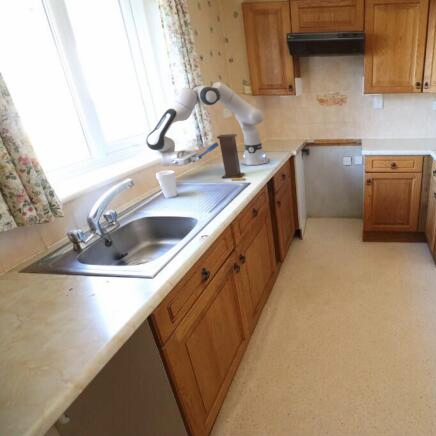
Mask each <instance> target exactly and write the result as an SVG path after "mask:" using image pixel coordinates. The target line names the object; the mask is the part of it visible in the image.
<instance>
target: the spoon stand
mask: <svg viewBox="0 0 436 436" xmlns="http://www.w3.org/2000/svg"><path fill="white" fill-rule="evenodd" d="M237 136H238V135H237V133H229V134H228V133H227V134H219V135H217V136H216V140H217V139H219V146H220V152H221V157H222V163H223V168H224V174H223V175H222V176H221V177H222V179H232V178H243V176H244V175H245V172H241V166H240V159H239V153H238V146H237V140H236V137H237Z"/></svg>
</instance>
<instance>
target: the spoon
mask: <svg viewBox="0 0 436 436" xmlns="http://www.w3.org/2000/svg"><path fill="white" fill-rule="evenodd" d="M219 146H220V144H219V143H218V142H217V141H216V142H215V143H213V144H212V145H209V147H207V148H206V150H205V151H204V152H202V153H201V154H199V156H198V157H200V158H201V157H202V158H203V157H204V156H205V155H207V154H208V153H210V152H212V151H213V150H214V149H216V148H218V147H219ZM195 162H196V161H192V163H195Z"/></svg>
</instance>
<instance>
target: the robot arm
mask: <svg viewBox="0 0 436 436" xmlns="http://www.w3.org/2000/svg"><path fill="white" fill-rule="evenodd" d="M217 102H219V103H221V105H222V106H224V107H225V108H226V109H228V110H229V111H230V112H231V113H234V117H235V119H236V121H237V122H238V124H239V126H240V129H241V131H242V135H243V140H244V152H243V161H242V165H246V166H260V165H264V164H269V156H266V152H265V150H264V149H263V145H262V144H263V143H262V142H261V136H260V132H259V130H258V129H257V127H256V125H259V124H261V123H263V121H264V113H263V111H262V110H261V109H258V108H257V107H255V106H254V105H252V104H250V103H249V102H247V101H246V100H244V99H243V98H242V97H241V96H240V95H238V94H237V93H236V92H235V91H234V90H233V89H232V88H230V87H229V86H227V85H226V84H225V83H223V82H221V81H216V82H214V83H213V84H212V86H209V85H204V84H203V85H202V84H196V85H195V86H194V87H192V88H190V87H183V88H182V89H181V90H180V91H179V92H178V94H177V95H176V97H175V99H174V101H173V103H172V104H171V105H170V107H169V108H168V109H167V110H165V112H164V113H163V115H162V116H161V117H160V119H159V120H158V122H157V124H156V125H155V127H154V129H153V130H152V131H151V132H150V133H148V134H147V136H146V139H145V140H146V146H147V147H148V148H149V149H150V150H152V152H151V153H150V154H149V157H150V156H151V157H159V158H161V165H163V166H162V167H169V166H170V167H182V166H187V165H188V164H190V163H193V161H195V162H197V161H200V160H202V159H203V156H202V157H201V158H200V157H198V156H199V155H200V153H199V151H193V150H192V151H191V150H190V151H189V150H176V144H175V141H174V139H172V138H170V137H169V136H166V134H167V133H168V131H169V130H170V128H171V126H172V125H173V124H174V123H176V122H183V121H187V120H188V119H189V118H190V117H191V115H192V114H193V111H194V109H195V107H196V106H197V105H198V104H202V105H207V106H214V105H215V104H216V103H217Z"/></svg>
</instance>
